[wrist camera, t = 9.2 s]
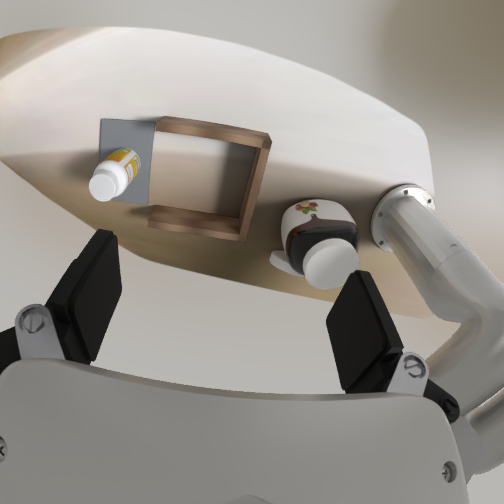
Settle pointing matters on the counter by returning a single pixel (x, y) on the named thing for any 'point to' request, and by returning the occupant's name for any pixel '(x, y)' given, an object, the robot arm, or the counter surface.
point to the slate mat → (136, 139)
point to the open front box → (205, 221)
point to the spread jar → (318, 243)
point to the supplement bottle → (114, 174)
